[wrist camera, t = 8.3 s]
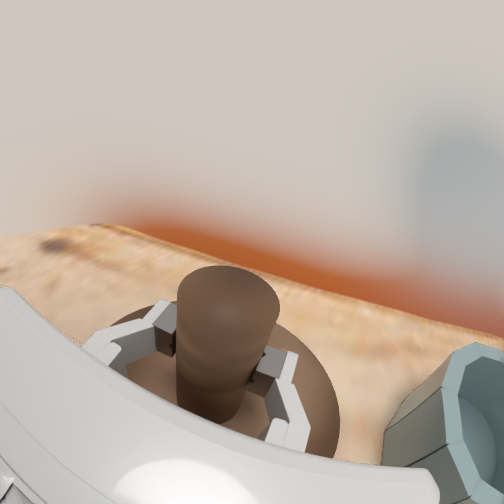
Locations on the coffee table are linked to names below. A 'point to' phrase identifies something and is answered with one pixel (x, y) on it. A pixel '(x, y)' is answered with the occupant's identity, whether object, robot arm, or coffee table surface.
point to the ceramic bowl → (455, 427)
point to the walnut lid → (233, 357)
